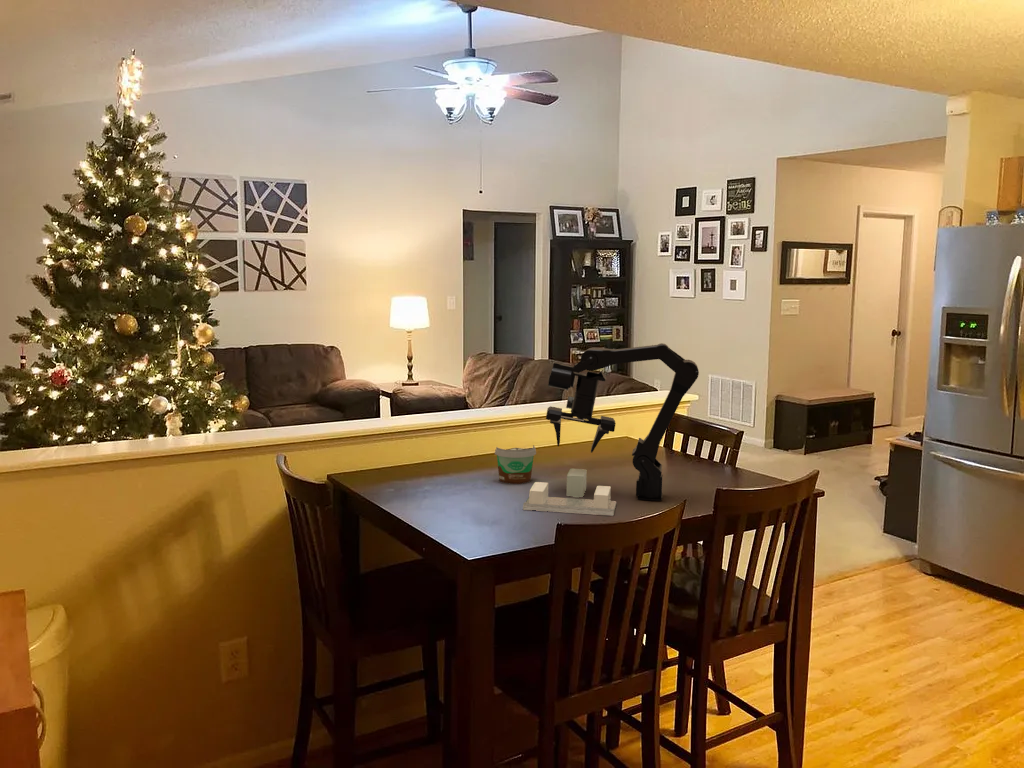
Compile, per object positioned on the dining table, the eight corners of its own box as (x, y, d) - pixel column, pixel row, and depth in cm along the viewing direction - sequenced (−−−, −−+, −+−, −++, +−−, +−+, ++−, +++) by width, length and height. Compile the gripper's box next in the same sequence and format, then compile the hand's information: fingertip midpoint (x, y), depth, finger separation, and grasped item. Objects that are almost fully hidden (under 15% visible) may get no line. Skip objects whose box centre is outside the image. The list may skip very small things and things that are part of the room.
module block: (586, 490, 233) (586, 469, 232) (583, 498, 225) (583, 476, 224) (570, 489, 233) (570, 468, 233) (566, 497, 226) (566, 475, 225)
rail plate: (616, 504, 218) (616, 498, 218) (613, 515, 208) (613, 509, 208) (529, 499, 223) (529, 493, 222) (523, 509, 213) (523, 503, 213)
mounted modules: (610, 501, 218) (610, 486, 217) (607, 511, 209) (608, 495, 209) (535, 496, 222) (535, 481, 221) (529, 505, 213) (529, 490, 212)
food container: (499, 486, 236) (500, 451, 234) (494, 480, 242) (494, 447, 240) (541, 483, 239) (541, 449, 238) (534, 478, 245) (535, 445, 243)
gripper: (617, 395, 232) (607, 448, 235) (552, 383, 233) (542, 436, 236) (620, 402, 221) (609, 458, 224) (551, 389, 222) (540, 445, 225)
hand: (574, 449), depth 228 cm, fingers open, 9 cm apart
